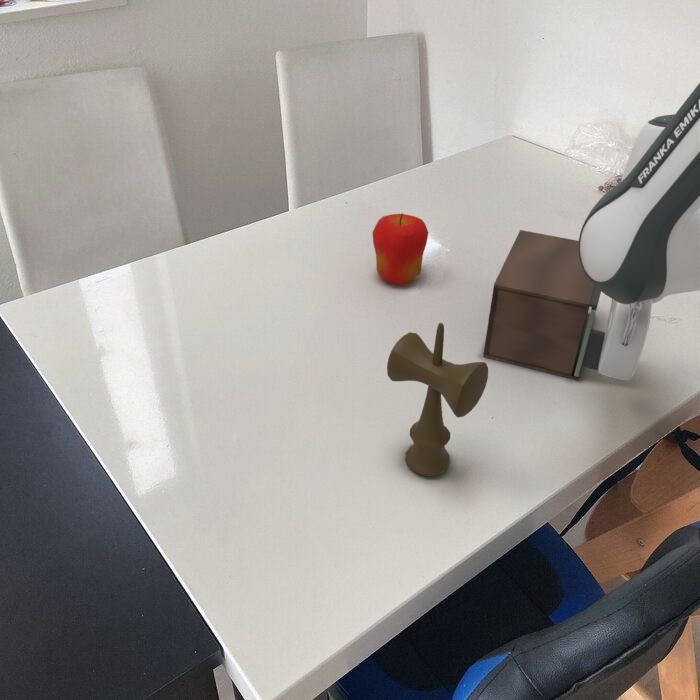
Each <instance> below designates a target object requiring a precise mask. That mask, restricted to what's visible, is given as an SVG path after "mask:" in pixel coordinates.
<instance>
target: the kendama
mask: <svg viewBox="0 0 700 700" xmlns="http://www.w3.org/2000/svg"><path fill="white" fill-rule="evenodd" d="M444 339H445V324H444V323H443V322H439V323H438V325H437V328H436V333H435V340H434V346H433V352H432V350H431V349H430V348H429V347H428V345H427V344H426V343H425V341H423V339H422V338H421V337H420V335H419V334H418V333H417V332H407V333H406V334H404V335H402V336H401V337H400V338H399V340H398V341H397V342H396V343H395V344H394V345H393V347H392V349H391V351H390V353H389V356H388V359H387V363H386V365H387V366H386V373H387V377H388V378H389V379H390V381H391V382H417V383H422V384H423V385H426V386H427V390H426V396H425V399H424V403H423V407H422V410H421V413H420V416H419V419H418V421H416V422H414V423H413V424H412V425H411V427H410V429H409V437H410V438H411V440H412V442H413V444H411V445H410V446H409V448H408V449H407V450H406V451H405V454H404V455H405V456H404V461H405V464H406V465H407V467H408V468H409V469H411V470H412V471H413V472H414V473H416V474H419V475H422V476H426V477H434V476H438V475H441V474H442V473H444V472H445V471H446V470H447V469H448V467H449V466H450V463H451V455H450V453H449V451H448V450H447V449H446V445H448V444H449V442H450V440H451V431H450V430H449V429H448V427H447V426H446V425H445V423H444V418H443V417H444V416H443V407H442V405H443V404H442V397H443V398H444V400H445V402H446V403H447V405H448V406H449V409H450V410H451V411H452V413H453V415H454V416H455V418H464V417H465V416H467V415H468V414H469V413H470V412H472V411H473V410H474V408H475V407H476V406H477V405H478V403H479V401H480V400H481V398H482V396H483V394H484V392H485V389H486V387H487V383H488V379H489V366H488V365H487V362H485V361H475V362H474V361H473V362H468V363H462V364H460V363H459V364H457V363H453V362H451V361H448V360H445V359H443V355H444Z"/></svg>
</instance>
